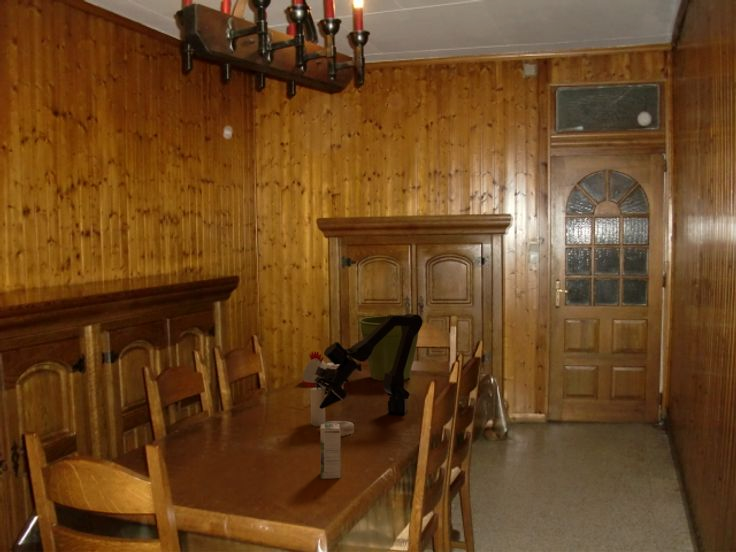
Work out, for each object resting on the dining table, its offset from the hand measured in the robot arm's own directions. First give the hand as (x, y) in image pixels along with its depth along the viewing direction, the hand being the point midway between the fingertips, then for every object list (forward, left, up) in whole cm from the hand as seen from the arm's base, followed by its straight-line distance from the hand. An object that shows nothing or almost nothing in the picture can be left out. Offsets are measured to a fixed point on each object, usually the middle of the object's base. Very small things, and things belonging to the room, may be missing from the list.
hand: (315, 405), depth 249 cm
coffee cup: (+7, -40, -7) cm, 41 cm away
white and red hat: (+27, -67, -7) cm, 73 cm away
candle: (-1, -1, -7) cm, 7 cm away
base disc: (-11, +6, -7) cm, 14 cm away
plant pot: (-4, -86, -7) cm, 86 cm away
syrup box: (-25, +48, -7) cm, 55 cm away
